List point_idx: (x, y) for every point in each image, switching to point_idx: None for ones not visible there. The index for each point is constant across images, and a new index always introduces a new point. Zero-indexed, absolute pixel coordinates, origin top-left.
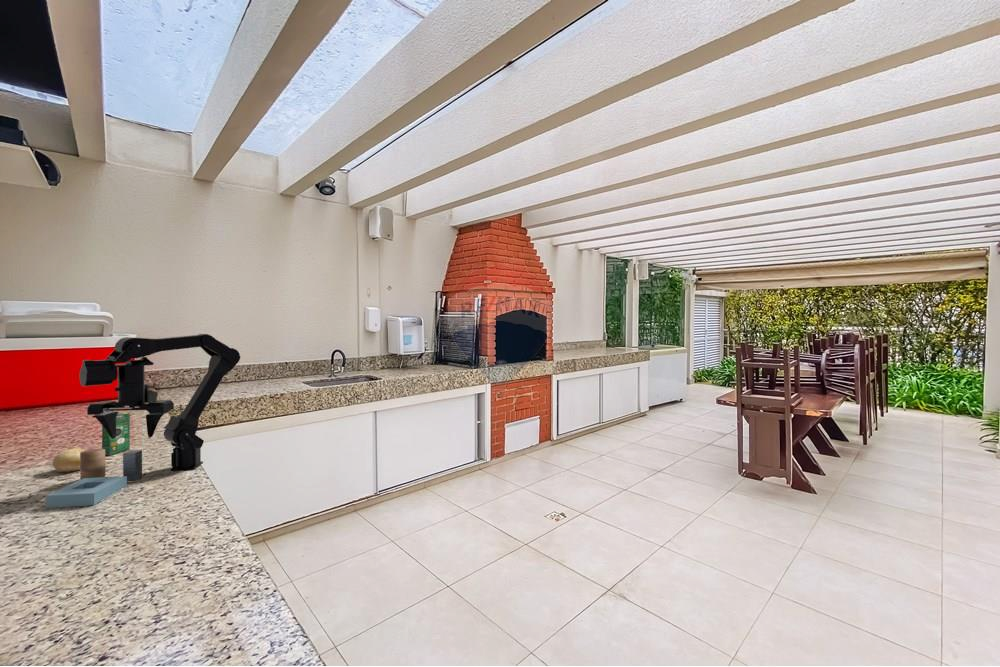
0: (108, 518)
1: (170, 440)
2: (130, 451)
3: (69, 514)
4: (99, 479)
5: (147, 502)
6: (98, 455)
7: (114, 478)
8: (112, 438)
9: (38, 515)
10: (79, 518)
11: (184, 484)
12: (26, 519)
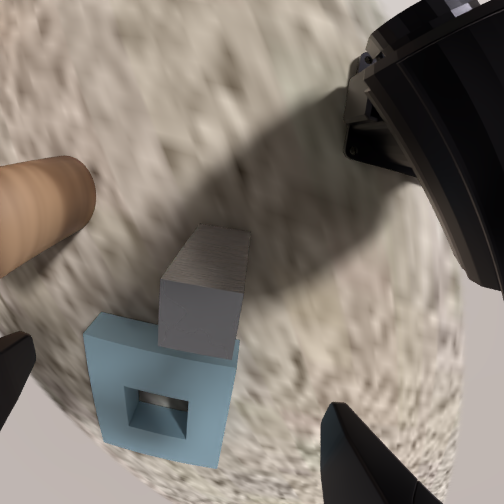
0: (286, 489)
1: (426, 193)
2: (178, 309)
3: None
4: (149, 371)
5: None
6: (22, 255)
7: (201, 379)
8: (33, 361)
9: None
10: (230, 481)
11: (418, 355)
12: (127, 454)
